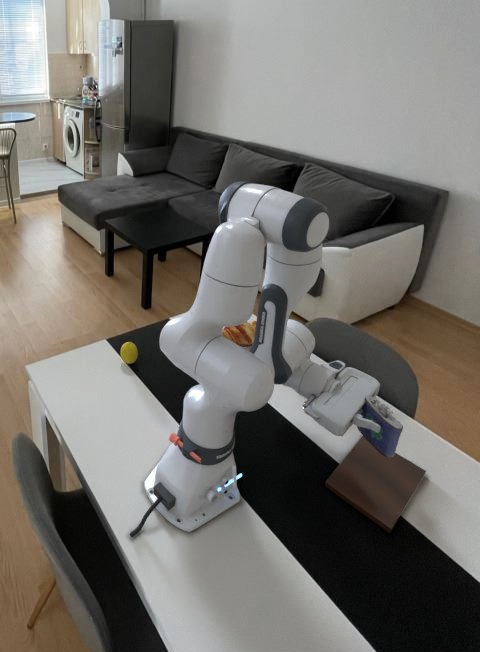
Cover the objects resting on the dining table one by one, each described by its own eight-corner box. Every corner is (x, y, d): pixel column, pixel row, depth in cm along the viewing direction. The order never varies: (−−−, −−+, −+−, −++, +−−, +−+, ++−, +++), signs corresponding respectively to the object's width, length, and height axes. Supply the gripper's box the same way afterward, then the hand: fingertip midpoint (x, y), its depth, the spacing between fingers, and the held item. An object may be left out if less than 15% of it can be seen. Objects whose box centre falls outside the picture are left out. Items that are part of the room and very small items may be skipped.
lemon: (118, 359, 140) (117, 339, 137) (133, 355, 141) (133, 335, 138) (124, 370, 135) (124, 350, 132) (140, 366, 136) (140, 346, 133)
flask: (396, 457, 92) (408, 421, 88) (384, 460, 92) (395, 423, 88) (364, 422, 100) (373, 388, 96) (352, 425, 100) (361, 390, 96)
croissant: (268, 337, 151) (265, 314, 152) (284, 342, 141) (280, 318, 142) (210, 343, 149) (207, 320, 150) (222, 349, 139) (219, 324, 140)
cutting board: (390, 533, 87) (391, 529, 87) (324, 486, 97) (325, 481, 97) (424, 475, 98) (426, 470, 98) (362, 438, 108) (363, 433, 107)
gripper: (300, 397, 96) (368, 438, 86) (341, 357, 107) (406, 388, 97) (296, 418, 99) (362, 460, 88) (337, 376, 110) (400, 409, 99)
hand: (385, 422), depth 93 cm, fingers closed on flask, 4 cm apart
